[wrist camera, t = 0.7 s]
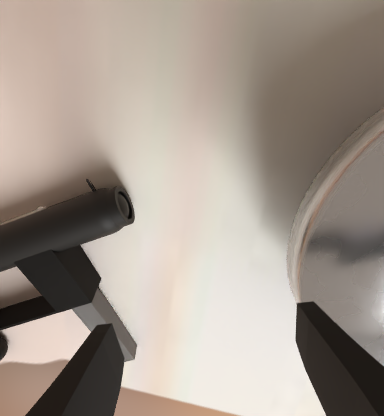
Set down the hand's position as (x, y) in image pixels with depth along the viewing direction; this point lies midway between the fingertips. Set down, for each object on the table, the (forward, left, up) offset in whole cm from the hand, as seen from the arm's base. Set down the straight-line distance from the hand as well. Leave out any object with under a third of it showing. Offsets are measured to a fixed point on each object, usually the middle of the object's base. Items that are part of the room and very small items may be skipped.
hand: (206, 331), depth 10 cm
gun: (-5, +13, -10) cm, 17 cm away
